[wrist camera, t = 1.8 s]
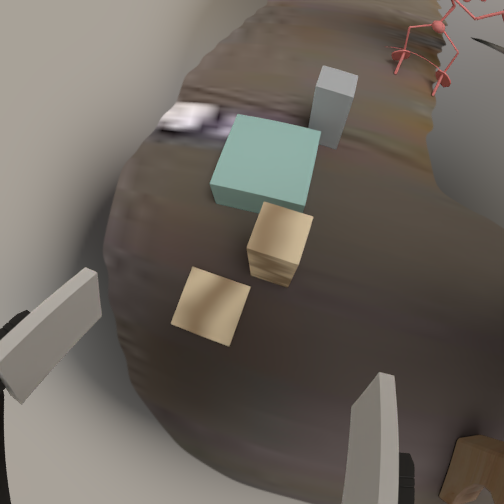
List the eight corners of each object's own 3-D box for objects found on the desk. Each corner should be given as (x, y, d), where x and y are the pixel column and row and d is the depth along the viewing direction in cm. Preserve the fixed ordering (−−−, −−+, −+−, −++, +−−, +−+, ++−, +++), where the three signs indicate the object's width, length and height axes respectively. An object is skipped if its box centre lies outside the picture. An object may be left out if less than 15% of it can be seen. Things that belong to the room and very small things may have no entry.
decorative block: (461, 492, 28) (533, 532, 9) (436, 497, 29) (506, 547, 9) (481, 433, 31) (567, 456, 12) (456, 437, 32) (544, 467, 12)
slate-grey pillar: (341, 127, 46) (358, 75, 35) (336, 149, 45) (353, 97, 34) (312, 118, 47) (323, 65, 36) (305, 140, 46) (315, 86, 34)
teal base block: (315, 155, 45) (321, 131, 40) (299, 224, 42) (304, 205, 36) (240, 138, 47) (237, 114, 41) (216, 204, 43) (209, 183, 38)
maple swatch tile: (250, 287, 39) (250, 286, 39) (229, 346, 37) (229, 346, 37) (193, 267, 40) (192, 266, 40) (172, 323, 38) (170, 323, 38)
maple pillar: (299, 252, 41) (313, 216, 29) (287, 287, 39) (298, 264, 28) (263, 240, 41) (263, 201, 30) (250, 275, 40) (246, 247, 28)
